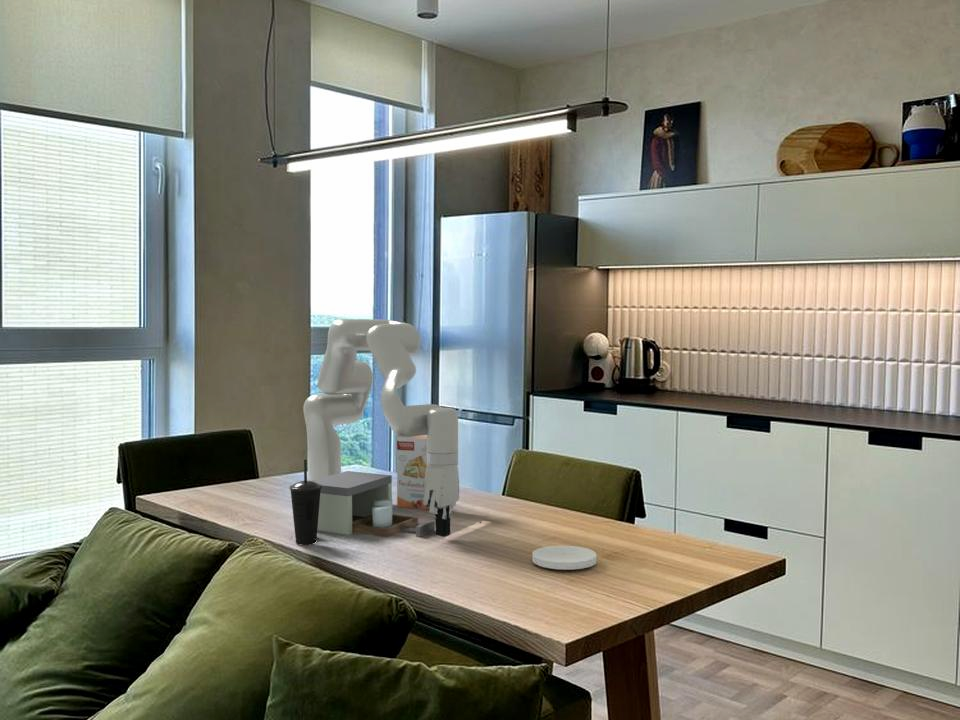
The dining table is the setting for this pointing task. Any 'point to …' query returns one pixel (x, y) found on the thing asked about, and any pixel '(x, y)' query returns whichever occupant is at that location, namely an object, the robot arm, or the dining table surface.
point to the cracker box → (411, 471)
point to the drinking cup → (305, 509)
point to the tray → (393, 526)
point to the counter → (349, 498)
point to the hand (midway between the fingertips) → (442, 534)
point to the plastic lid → (564, 557)
